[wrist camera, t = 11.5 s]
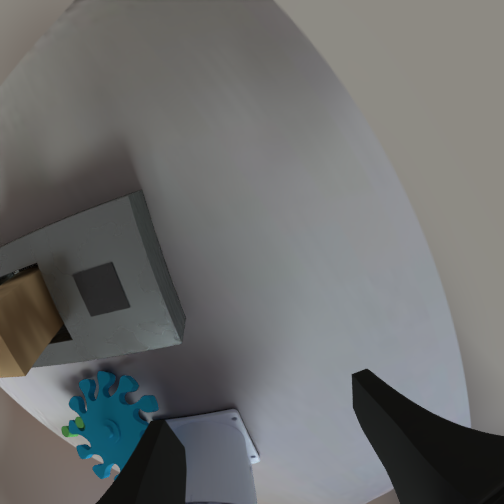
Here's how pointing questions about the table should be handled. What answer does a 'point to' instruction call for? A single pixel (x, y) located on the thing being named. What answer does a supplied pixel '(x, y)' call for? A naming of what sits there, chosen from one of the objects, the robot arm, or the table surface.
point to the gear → (108, 421)
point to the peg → (25, 321)
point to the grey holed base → (102, 282)
